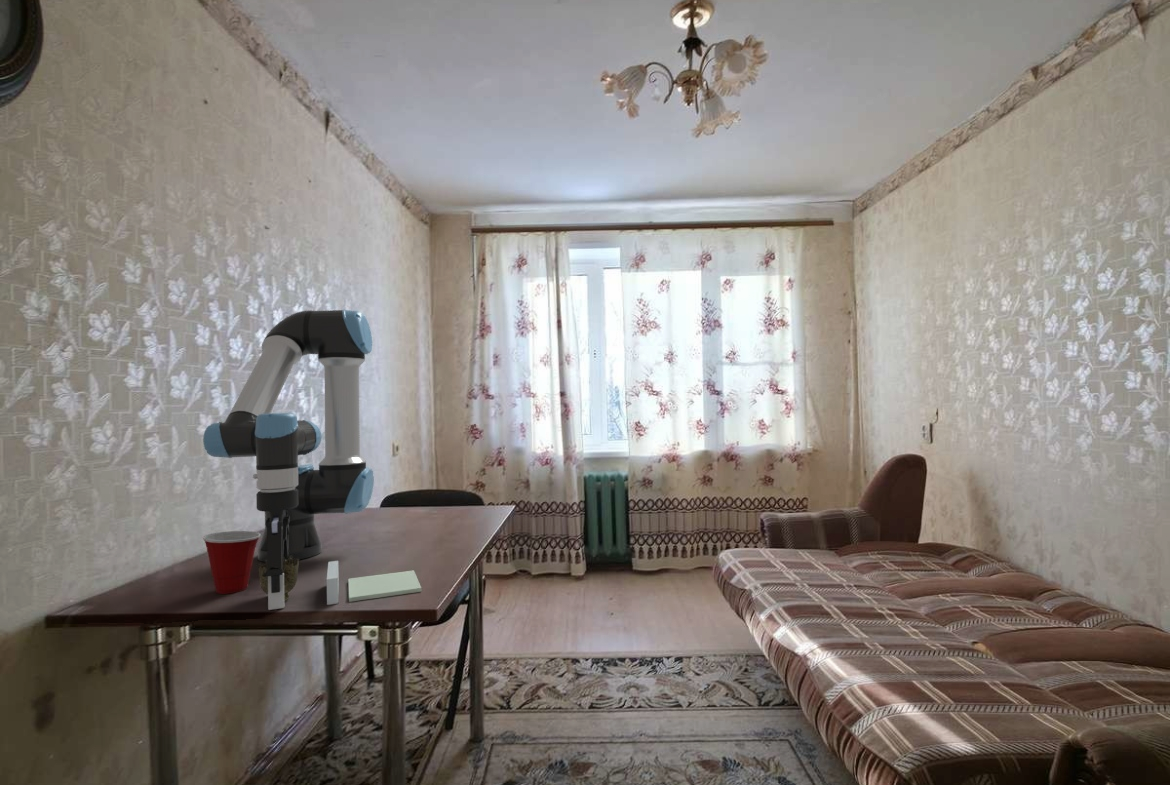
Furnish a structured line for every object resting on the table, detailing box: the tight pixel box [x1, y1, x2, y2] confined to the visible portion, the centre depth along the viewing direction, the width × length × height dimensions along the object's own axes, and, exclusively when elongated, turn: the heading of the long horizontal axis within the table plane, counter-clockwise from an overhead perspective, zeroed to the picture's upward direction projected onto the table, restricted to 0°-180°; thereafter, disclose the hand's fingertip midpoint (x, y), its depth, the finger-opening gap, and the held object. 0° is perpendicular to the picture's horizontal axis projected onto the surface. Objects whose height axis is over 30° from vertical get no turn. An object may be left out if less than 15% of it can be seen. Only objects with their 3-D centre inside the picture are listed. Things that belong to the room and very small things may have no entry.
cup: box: [257, 557, 300, 602], centre depth 118 cm, size 8×7×8 cm
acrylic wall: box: [326, 560, 340, 606], centre depth 122 cm, size 14×2×5 cm, turn 22°
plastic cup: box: [202, 530, 262, 595], centre depth 126 cm, size 11×11×12 cm
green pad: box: [347, 570, 422, 603], centre depth 126 cm, size 14×14×1 cm
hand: (279, 599), depth 118 cm, fingers open, 10 cm apart
